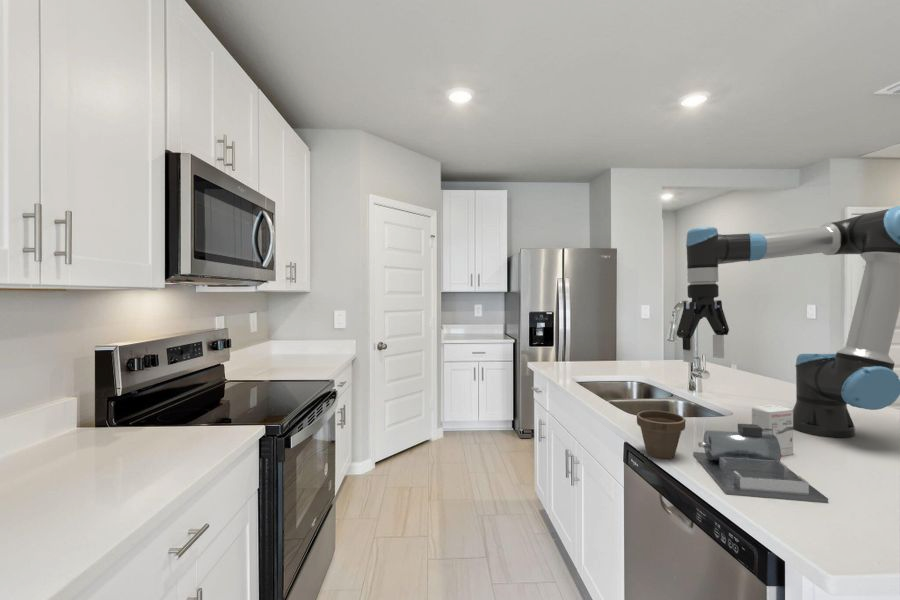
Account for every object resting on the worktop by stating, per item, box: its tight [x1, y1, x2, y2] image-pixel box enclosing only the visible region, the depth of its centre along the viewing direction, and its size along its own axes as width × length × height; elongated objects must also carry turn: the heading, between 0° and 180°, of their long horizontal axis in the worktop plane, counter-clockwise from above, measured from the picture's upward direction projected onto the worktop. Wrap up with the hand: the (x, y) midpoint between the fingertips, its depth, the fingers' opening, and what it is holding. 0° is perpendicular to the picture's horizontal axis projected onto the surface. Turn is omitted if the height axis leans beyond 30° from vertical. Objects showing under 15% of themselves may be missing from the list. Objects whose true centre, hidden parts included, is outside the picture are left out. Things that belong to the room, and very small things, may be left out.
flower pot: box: [636, 409, 687, 460], centre depth 115 cm, size 12×11×10 cm
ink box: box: [751, 404, 794, 457], centre depth 115 cm, size 9×5×12 cm, turn 106°
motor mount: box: [692, 423, 829, 503], centre depth 101 cm, size 18×23×10 cm
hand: (704, 359), depth 124 cm, fingers open, 13 cm apart
